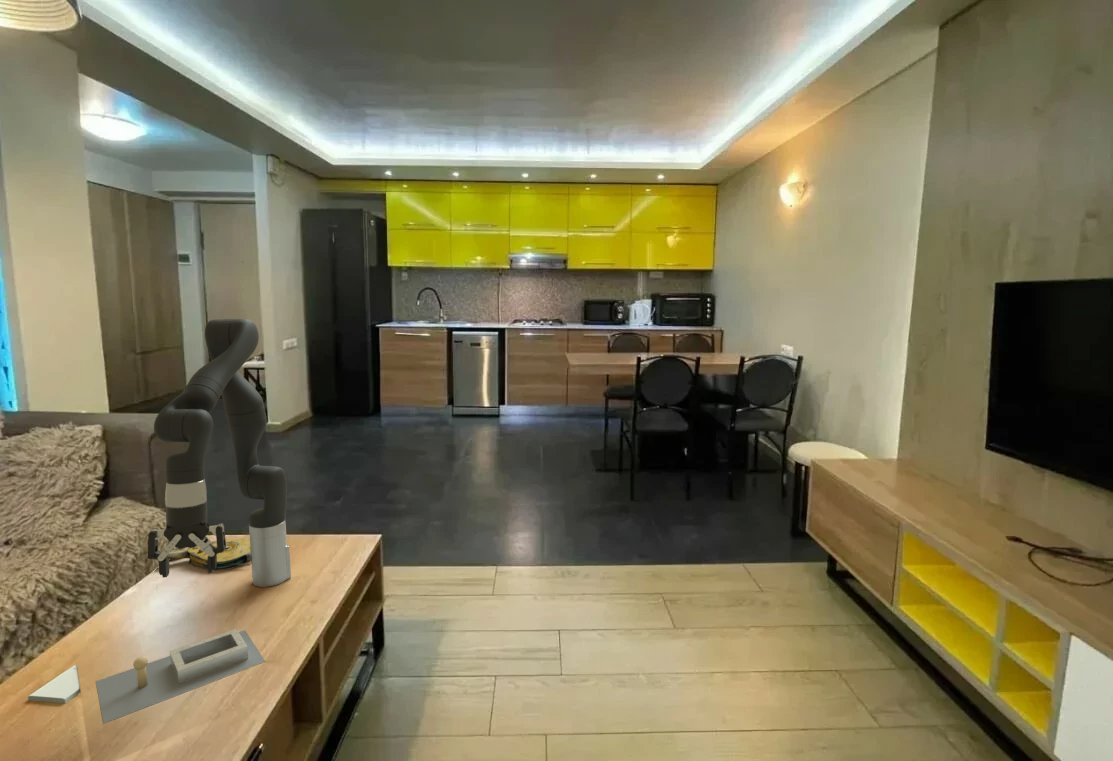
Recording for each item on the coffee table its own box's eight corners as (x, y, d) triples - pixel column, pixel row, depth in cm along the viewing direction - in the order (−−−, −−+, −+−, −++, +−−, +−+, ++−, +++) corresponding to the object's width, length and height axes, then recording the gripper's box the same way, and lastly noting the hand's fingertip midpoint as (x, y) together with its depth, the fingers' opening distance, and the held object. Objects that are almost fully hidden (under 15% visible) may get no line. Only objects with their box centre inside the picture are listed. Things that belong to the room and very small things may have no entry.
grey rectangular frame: (237, 640, 133) (236, 628, 133) (248, 658, 127) (247, 646, 126) (170, 663, 125) (169, 651, 124) (178, 684, 118) (177, 671, 118)
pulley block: (169, 533, 180) (268, 531, 183) (172, 549, 182) (270, 547, 184) (141, 559, 167) (249, 557, 169) (145, 576, 169) (251, 574, 171)
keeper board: (245, 634, 138) (243, 605, 137) (265, 666, 126) (263, 635, 125) (96, 686, 119) (92, 653, 118) (104, 729, 107) (100, 693, 106)
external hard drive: (28, 702, 115) (85, 663, 127) (66, 705, 114) (119, 666, 126) (27, 695, 115) (84, 656, 127) (65, 698, 114) (118, 659, 126)
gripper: (227, 494, 130) (229, 563, 131) (153, 498, 125) (156, 570, 127) (219, 503, 123) (221, 577, 124) (141, 508, 118) (144, 584, 120)
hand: (188, 573), depth 125 cm, fingers open, 8 cm apart
